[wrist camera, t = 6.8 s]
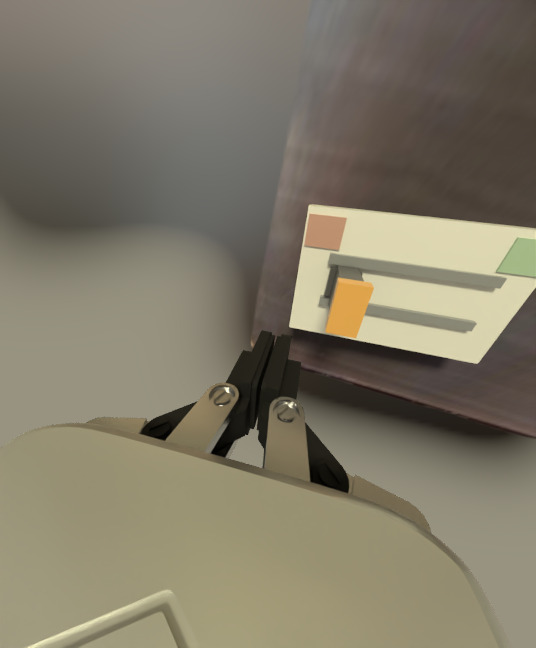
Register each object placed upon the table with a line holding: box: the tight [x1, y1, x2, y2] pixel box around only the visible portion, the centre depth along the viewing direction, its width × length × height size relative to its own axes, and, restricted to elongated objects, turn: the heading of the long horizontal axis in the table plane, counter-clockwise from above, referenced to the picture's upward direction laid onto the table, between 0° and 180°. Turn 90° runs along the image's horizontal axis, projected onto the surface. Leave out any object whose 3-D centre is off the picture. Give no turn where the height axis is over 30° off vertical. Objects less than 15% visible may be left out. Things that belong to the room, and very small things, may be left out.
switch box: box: [289, 204, 536, 364], centre depth 25 cm, size 22×14×6 cm, turn 85°
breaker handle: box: [324, 265, 374, 338], centre depth 21 cm, size 3×5×8 cm
